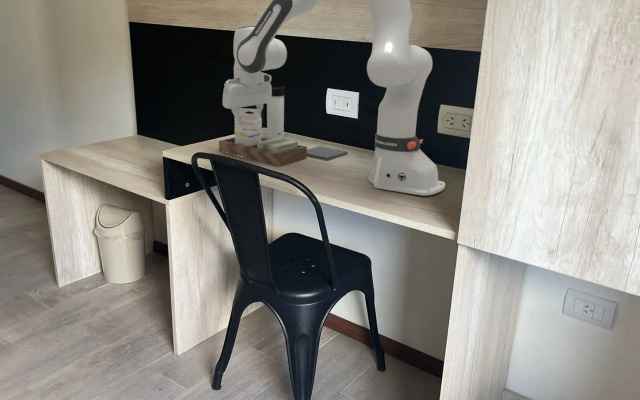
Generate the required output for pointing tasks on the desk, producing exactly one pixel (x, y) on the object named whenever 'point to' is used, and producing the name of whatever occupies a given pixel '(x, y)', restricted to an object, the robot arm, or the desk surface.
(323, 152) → the mat
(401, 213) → the desk surface
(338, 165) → the desk surface
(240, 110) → the ink cartridge box
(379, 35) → the robot arm
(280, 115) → the travel mug
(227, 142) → the wooden tray
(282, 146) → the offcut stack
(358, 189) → the desk surface
